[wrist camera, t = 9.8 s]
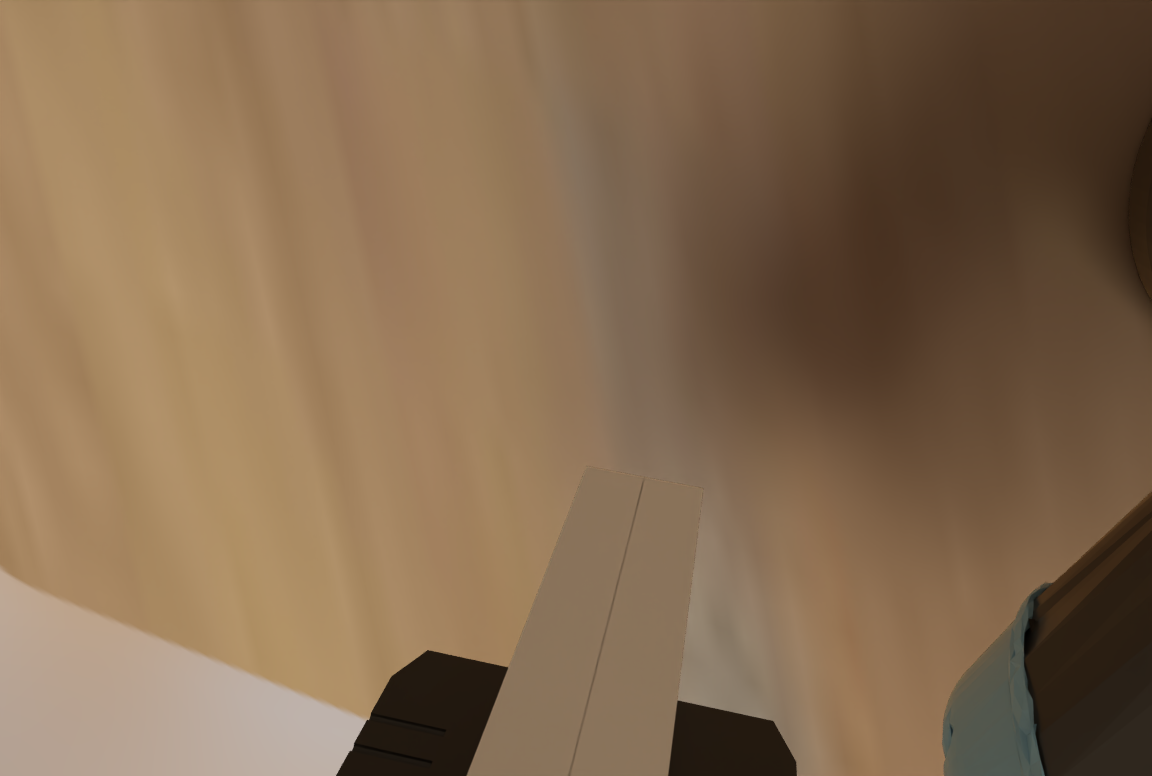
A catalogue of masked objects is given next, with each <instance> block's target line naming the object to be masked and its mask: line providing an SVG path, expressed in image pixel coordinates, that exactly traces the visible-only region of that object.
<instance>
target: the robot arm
mask: <svg viewBox="0 0 1152 776" xmlns="http://www.w3.org/2000/svg"><path fill="white" fill-rule="evenodd" d="M1129 233H1130V241H1131V247H1132V252H1133V256H1134V261H1135V264H1136V267H1137V270H1138V273H1139V276H1140V278H1141V281H1142V283H1143V286H1144V288H1145V290H1146V292H1147V293H1148V295H1149V297H1150V299H1151V301H1152V120H1151V123H1150V125H1149V127H1148V129H1147V132H1146V134H1145V136H1144V139H1143V142H1142V145H1141V147H1140V150H1139V153H1138V157H1137V160H1136V164H1135V167H1134V172H1133V177H1132V182H1131V189H1130V197H1129ZM702 496H703V488H700V487H694V486H689V485H684V484H679V483H673V482H668V481H663V480H658V479H652V478H647V477H642V476H637V475H631V474H626V473H621V472H616V471H610V470H605V469H600V468H595V467H589V466H586V469H585V471H584V474H583V476H582V479H581V481H580V484H579V487H578V489H577V492H576V494H575V497H574V500H573V502H572V505H571V507H570V510H569V513H568V515H567V518H566V520H565V523H564V525H563V528H562V531H561V533H560V536H559V538H558V541H557V544H556V546H555V549H554V551H553V554H552V556H551V559H550V562H549V564H548V567H547V569H546V572H545V575H544V577H543V580H542V582H541V585H540V587H539V590H538V593H537V595H536V598H535V600H534V603H533V606H532V608H531V611H530V613H529V616H528V619H527V621H526V624H525V626H524V629H523V631H522V634H521V637H520V639H519V642H518V644H517V647H516V650H515V652H514V655H513V657H512V660H511V662H510V665H509V668H508V667H503V666H499V665H494V664H490V663H485V662H480V661H476V660H471V659H466V658H462V657H457V656H452V655H448V654H443V653H439V652H434V651H429V650H427V651H426V652H425V653H423V654H422V655H421V656H419V657H418V658H416V659H415V660H414V661H412V662H411V663H410V664H408V665H407V666H405V667H404V668H403V669H401V670H400V671H398V672H397V673H396V674H394V675H393V676H392V677H391V678H390V680H389V682H388V684H387V685H386V687H385V689H384V691H383V692H382V694H381V696H380V698H379V700H378V701H377V703H376V705H375V707H374V709H373V710H372V712H371V716H370V719H369V720H367V721H366V723H365V725H364V727H363V728H362V730H361V732H360V734H359V736H358V737H357V739H356V741H355V743H354V748H353V750H352V751H350V752H349V753H348V755H347V757H346V759H345V761H344V763H343V764H342V766H341V768H340V770H339V771H338V773H337V775H336V776H797V770H796V761H795V759H794V757H793V755H792V754H791V752H790V750H789V748H788V746H787V745H786V743H785V741H784V739H783V738H782V736H781V734H780V732H779V730H778V729H777V727H776V725H775V723H774V721H770V720H766V719H761V718H756V717H752V716H747V715H742V714H738V713H733V712H729V711H724V710H719V709H715V708H710V707H705V706H701V705H696V704H691V703H687V702H682V701H677V699H678V691H679V683H680V674H681V666H682V658H683V650H684V642H685V634H686V626H687V618H688V609H689V601H690V593H691V585H692V577H693V569H694V561H695V552H696V544H697V536H698V528H699V520H700V512H701V504H702ZM942 745H943V750H944V754H945V758H946V759H945V762H944V776H1152V492H1151V493H1150V494H1148V495H1147V496H1146V497H1145V498H1144V499H1143V500H1142V501H1141V502H1140V503H1139V504H1138V505H1137V506H1136V507H1135V508H1133V509H1132V510H1131V511H1130V512H1129V513H1128V514H1127V515H1126V516H1125V517H1124V518H1123V519H1122V520H1121V521H1119V522H1118V523H1117V524H1116V525H1115V526H1114V527H1113V528H1112V529H1111V530H1110V531H1109V532H1108V533H1107V534H1106V535H1104V536H1103V537H1102V538H1101V539H1100V540H1099V541H1098V542H1097V543H1096V544H1095V545H1094V546H1093V547H1092V548H1091V549H1089V550H1088V551H1087V552H1086V553H1085V554H1084V555H1083V556H1082V557H1081V558H1080V559H1079V560H1078V561H1077V562H1076V563H1074V564H1073V565H1072V566H1071V567H1070V568H1069V569H1068V570H1067V571H1066V572H1065V573H1064V574H1063V575H1062V576H1060V577H1059V578H1058V579H1057V580H1056V581H1055V582H1054V583H1044V584H1043V585H1041V586H1040V587H1038V588H1037V589H1035V590H1034V591H1033V592H1032V593H1031V594H1030V595H1029V596H1028V597H1027V599H1026V600H1025V601H1024V602H1023V603H1022V605H1021V607H1020V609H1019V611H1018V613H1017V616H1016V618H1015V620H1014V621H1013V622H1012V623H1011V624H1010V625H1009V626H1008V628H1007V629H1006V630H1005V631H1004V632H1003V633H1002V634H1001V635H1000V636H999V637H998V638H997V639H996V640H995V641H994V642H993V644H992V645H991V646H990V647H989V648H988V649H987V650H986V651H985V652H984V653H983V654H982V655H981V656H980V657H979V658H978V660H977V661H976V662H975V663H974V664H973V665H972V666H971V667H970V668H969V669H968V670H967V671H966V672H965V673H964V674H963V675H962V677H961V678H960V680H959V681H958V683H957V684H956V686H955V688H954V690H953V692H952V694H951V696H950V698H949V700H948V704H947V707H946V710H945V714H944V720H943V740H942Z"/></svg>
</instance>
